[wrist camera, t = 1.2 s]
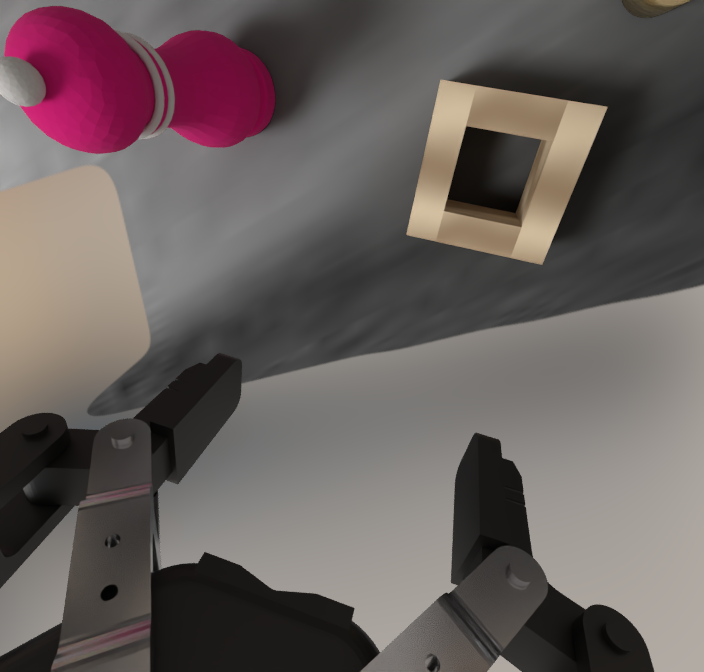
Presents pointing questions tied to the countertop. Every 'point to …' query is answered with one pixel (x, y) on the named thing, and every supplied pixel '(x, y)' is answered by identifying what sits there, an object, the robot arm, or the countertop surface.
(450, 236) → the socket block
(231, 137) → the pepper mill
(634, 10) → the short pin
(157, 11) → the countertop surface
